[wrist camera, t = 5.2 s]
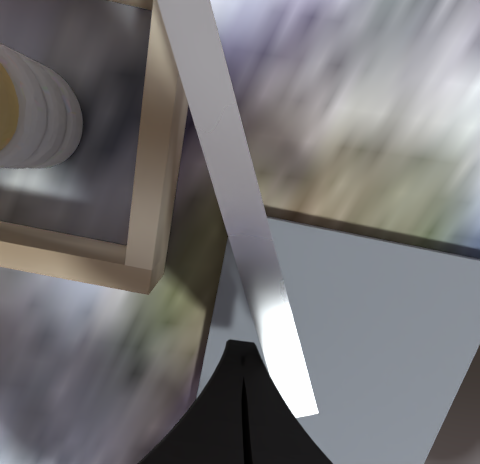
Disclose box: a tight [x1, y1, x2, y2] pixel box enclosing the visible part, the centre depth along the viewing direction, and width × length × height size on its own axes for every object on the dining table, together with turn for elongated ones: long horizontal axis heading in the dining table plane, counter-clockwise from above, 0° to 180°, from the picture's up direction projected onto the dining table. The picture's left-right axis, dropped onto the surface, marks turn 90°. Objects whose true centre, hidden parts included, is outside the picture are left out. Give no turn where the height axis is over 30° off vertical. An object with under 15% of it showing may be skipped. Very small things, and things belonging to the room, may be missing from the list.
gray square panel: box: [196, 216, 480, 464], centre depth 13 cm, size 12×12×1 cm
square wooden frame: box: [0, 0, 188, 295], centre depth 10 cm, size 11×11×2 cm
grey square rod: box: [157, 0, 318, 418], centre depth 8 cm, size 15×2×2 cm, turn 16°
